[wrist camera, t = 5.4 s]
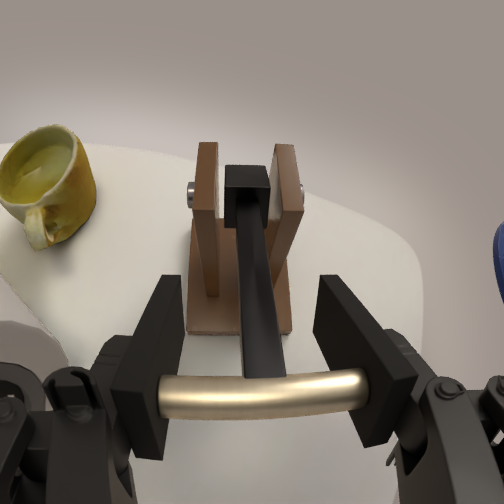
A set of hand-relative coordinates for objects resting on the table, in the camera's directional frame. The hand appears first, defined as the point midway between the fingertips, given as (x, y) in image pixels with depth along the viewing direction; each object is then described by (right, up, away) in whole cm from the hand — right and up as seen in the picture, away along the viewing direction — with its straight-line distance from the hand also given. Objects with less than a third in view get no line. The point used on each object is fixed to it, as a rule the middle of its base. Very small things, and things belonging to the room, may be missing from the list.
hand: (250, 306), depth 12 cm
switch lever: (0, +1, 0) cm, 1 cm away
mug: (-19, +5, +15) cm, 25 cm away
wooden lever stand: (-1, 0, +13) cm, 14 cm away
